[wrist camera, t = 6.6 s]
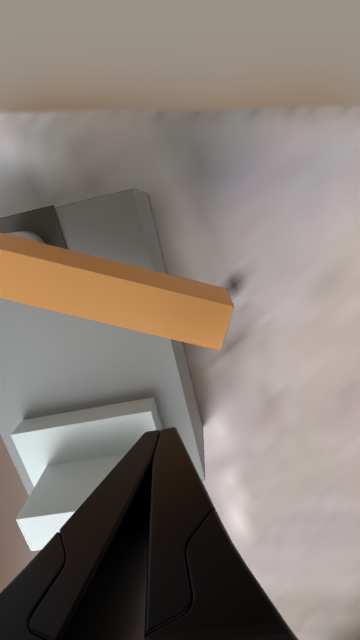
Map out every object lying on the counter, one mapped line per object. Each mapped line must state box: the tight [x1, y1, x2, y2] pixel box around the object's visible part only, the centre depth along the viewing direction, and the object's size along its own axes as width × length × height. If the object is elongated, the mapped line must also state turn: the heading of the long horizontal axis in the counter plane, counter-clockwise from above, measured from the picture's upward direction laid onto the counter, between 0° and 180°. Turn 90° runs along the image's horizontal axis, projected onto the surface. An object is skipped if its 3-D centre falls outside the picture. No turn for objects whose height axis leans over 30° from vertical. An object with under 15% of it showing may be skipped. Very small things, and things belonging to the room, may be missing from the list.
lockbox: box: [0, 189, 205, 496], centre depth 18 cm, size 10×15×5 cm, turn 13°
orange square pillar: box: [0, 231, 234, 351], centre depth 12 cm, size 2×9×4 cm, turn 77°
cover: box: [11, 397, 163, 551], centre depth 16 cm, size 7×5×4 cm
